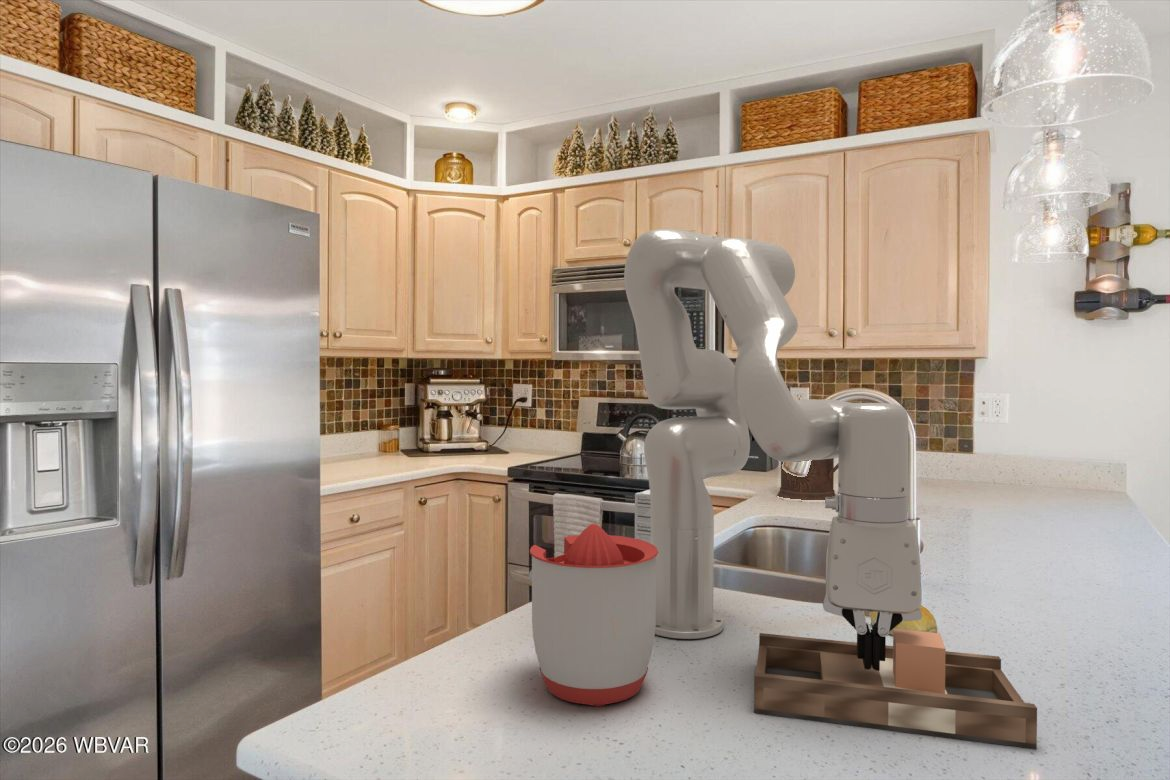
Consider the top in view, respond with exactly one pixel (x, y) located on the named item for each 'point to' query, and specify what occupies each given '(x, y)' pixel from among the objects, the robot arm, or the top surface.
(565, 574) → the citrus juicer
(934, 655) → the block
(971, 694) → the board
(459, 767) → the top surface
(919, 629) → the bread roll
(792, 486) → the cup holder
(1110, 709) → the top surface
